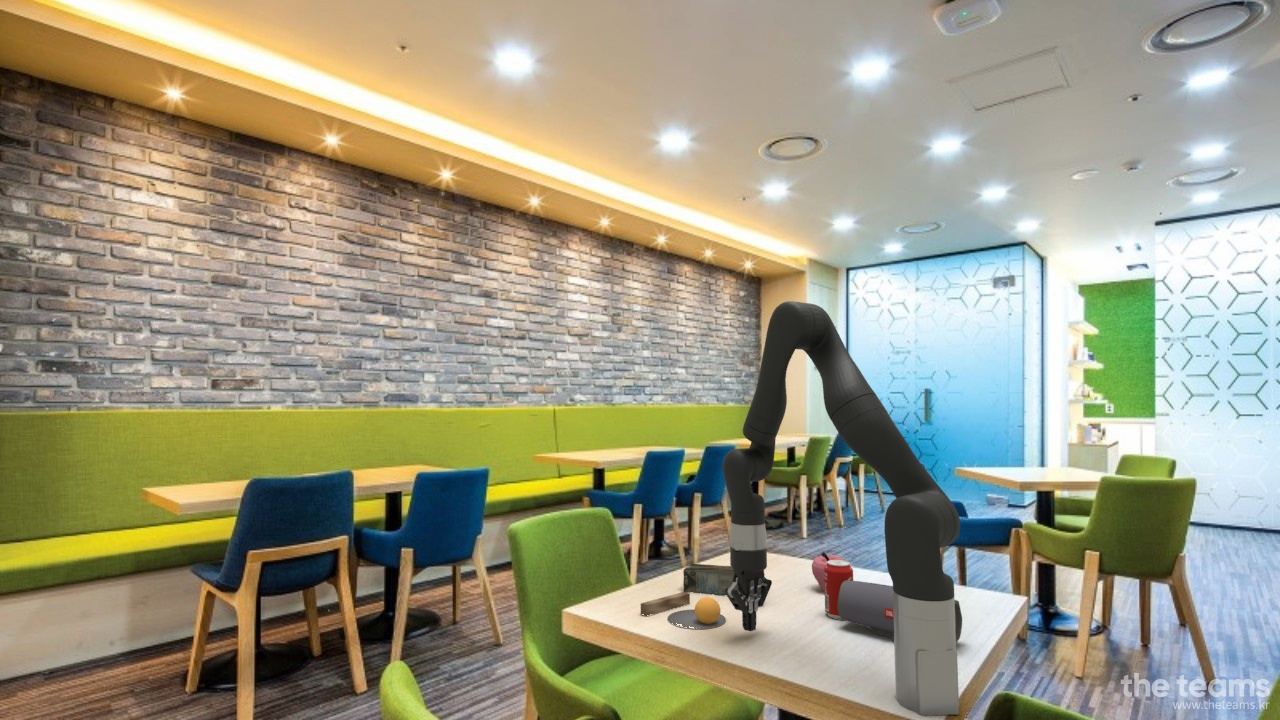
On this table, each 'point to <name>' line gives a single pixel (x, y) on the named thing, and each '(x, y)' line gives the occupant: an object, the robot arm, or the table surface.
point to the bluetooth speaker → (875, 607)
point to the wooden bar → (665, 603)
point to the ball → (707, 610)
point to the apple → (822, 567)
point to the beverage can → (835, 584)
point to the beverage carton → (707, 579)
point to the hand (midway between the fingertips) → (749, 629)
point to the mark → (693, 620)
